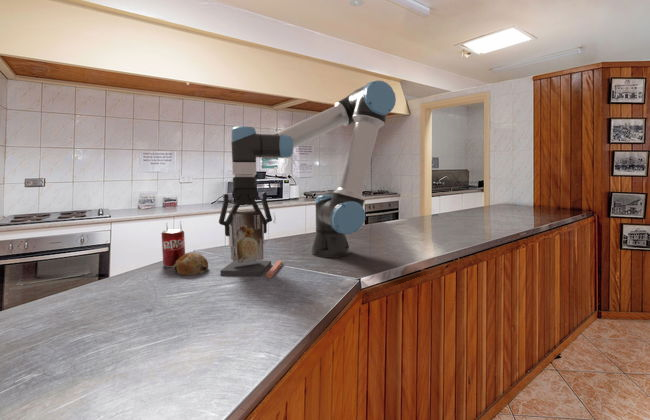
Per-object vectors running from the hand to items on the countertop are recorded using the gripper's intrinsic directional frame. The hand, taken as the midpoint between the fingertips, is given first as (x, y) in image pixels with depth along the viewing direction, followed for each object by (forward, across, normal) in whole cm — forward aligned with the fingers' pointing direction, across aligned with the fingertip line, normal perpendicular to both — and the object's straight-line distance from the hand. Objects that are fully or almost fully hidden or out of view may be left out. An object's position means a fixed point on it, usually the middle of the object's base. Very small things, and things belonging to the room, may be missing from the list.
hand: (246, 244), depth 116 cm
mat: (+9, 0, 0) cm, 9 cm away
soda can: (+9, +22, -17) cm, 29 cm away
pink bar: (+9, -8, +5) cm, 13 cm away
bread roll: (+9, +17, -6) cm, 20 cm away
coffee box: (+5, 0, 0) cm, 5 cm away
